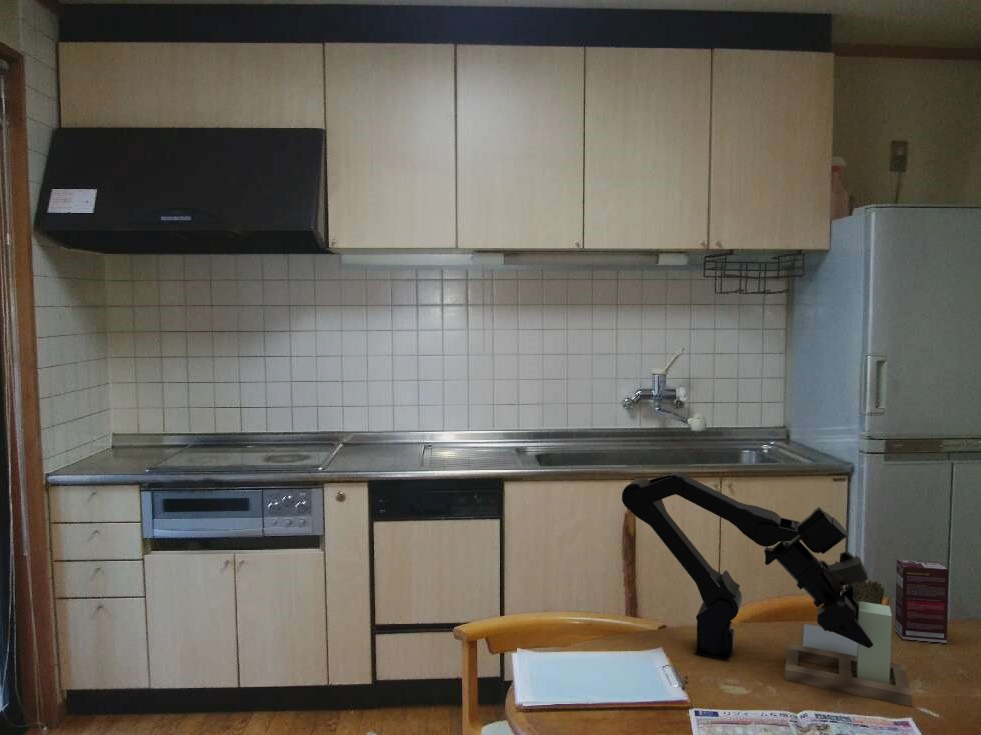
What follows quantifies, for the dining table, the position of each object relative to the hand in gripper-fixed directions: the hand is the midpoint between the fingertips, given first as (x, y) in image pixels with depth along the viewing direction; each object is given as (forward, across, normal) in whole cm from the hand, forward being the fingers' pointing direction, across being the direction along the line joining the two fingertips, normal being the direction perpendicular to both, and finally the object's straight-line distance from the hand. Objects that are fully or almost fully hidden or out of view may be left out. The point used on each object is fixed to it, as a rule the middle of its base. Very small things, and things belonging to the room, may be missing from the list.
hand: (870, 636), depth 126 cm
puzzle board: (+3, 0, +9) cm, 9 cm away
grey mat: (+2, +14, +10) cm, 17 cm away
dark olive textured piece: (+7, +32, +6) cm, 33 cm away
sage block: (+6, 0, +6) cm, 9 cm away
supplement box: (+14, +26, -1) cm, 29 cm away
